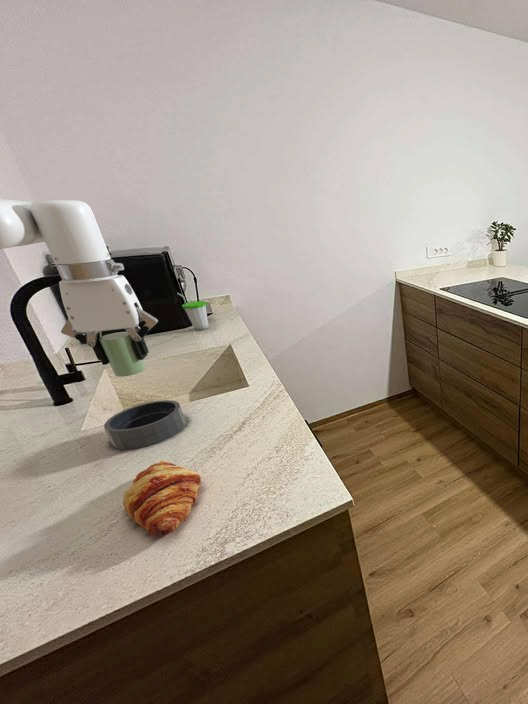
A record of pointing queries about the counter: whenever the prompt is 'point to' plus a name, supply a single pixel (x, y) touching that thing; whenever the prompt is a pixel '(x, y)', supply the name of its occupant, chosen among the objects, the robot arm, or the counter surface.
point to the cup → (196, 313)
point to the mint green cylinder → (121, 354)
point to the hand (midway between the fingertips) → (125, 359)
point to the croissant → (161, 497)
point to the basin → (145, 424)
